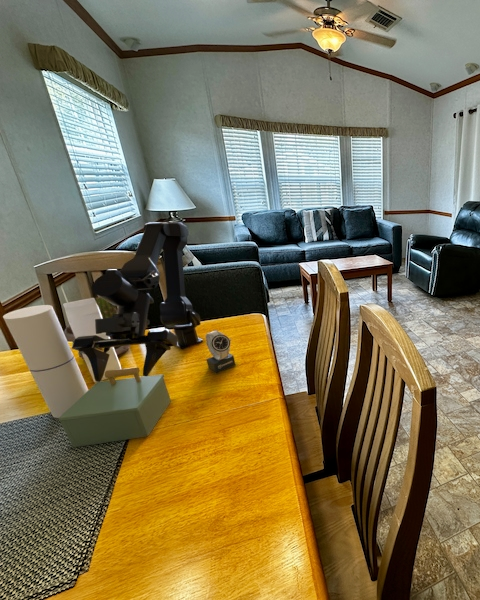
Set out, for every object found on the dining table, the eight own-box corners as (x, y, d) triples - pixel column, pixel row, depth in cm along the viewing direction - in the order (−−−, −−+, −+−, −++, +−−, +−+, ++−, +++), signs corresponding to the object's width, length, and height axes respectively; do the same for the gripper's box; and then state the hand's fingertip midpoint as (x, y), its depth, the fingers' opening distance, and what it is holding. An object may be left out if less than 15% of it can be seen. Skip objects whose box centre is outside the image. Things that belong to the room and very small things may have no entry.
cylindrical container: (68, 419, 74) (20, 320, 65) (43, 415, 75) (-7, 317, 66) (100, 399, 80) (61, 306, 71) (77, 396, 82) (36, 303, 72)
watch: (219, 376, 89) (210, 341, 85) (205, 366, 94) (196, 332, 90) (239, 367, 93) (231, 332, 89) (225, 358, 98) (217, 325, 94)
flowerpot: (63, 372, 92) (33, 306, 84) (94, 345, 105) (70, 287, 98) (124, 363, 95) (101, 300, 88) (146, 339, 109) (127, 282, 102)
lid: (98, 384, 75) (91, 368, 73) (164, 376, 78) (159, 361, 76) (59, 421, 64) (50, 403, 62) (138, 410, 67) (131, 393, 65)
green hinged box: (107, 409, 77) (97, 385, 74) (171, 401, 80) (163, 377, 77) (72, 447, 66) (59, 421, 64) (148, 436, 69) (138, 410, 67)
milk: (122, 374, 90) (95, 300, 82) (93, 383, 87) (61, 307, 78) (120, 365, 95) (94, 294, 86) (93, 373, 91) (62, 300, 83)
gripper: (60, 304, 70) (41, 377, 64) (158, 296, 73) (149, 365, 67) (96, 322, 80) (83, 386, 74) (181, 314, 83) (174, 375, 77)
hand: (121, 378), depth 73 cm, fingers open, 9 cm apart
